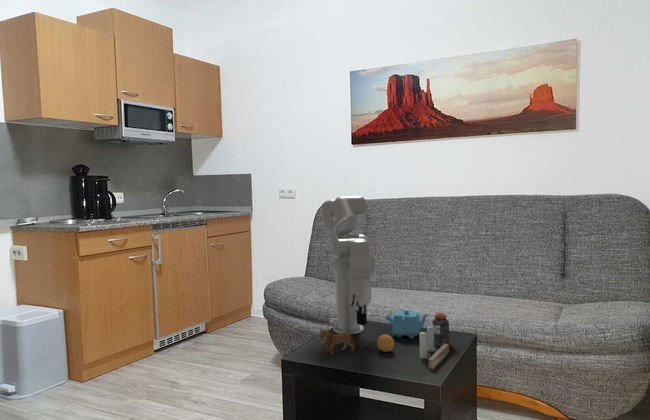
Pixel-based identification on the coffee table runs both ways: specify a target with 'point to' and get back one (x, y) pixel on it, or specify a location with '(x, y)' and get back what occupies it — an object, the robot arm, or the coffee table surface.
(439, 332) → the pill bottle
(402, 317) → the teapot
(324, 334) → the lion figurine
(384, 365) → the coffee table surface
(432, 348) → the grey pin
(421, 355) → the white pin
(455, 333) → the coffee table surface
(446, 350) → the tan wooden bar
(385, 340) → the ball
